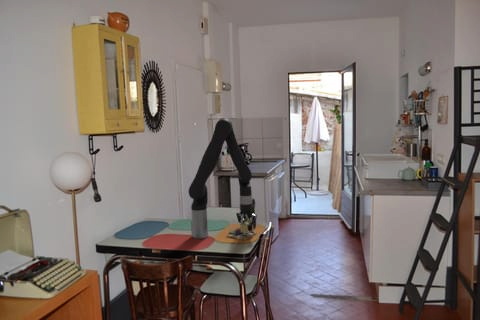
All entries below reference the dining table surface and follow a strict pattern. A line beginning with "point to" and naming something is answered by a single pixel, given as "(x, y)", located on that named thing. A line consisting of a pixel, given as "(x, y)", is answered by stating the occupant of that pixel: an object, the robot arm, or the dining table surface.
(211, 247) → the dining table surface
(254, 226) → the coffee jar
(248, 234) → the hinge board
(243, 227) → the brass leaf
